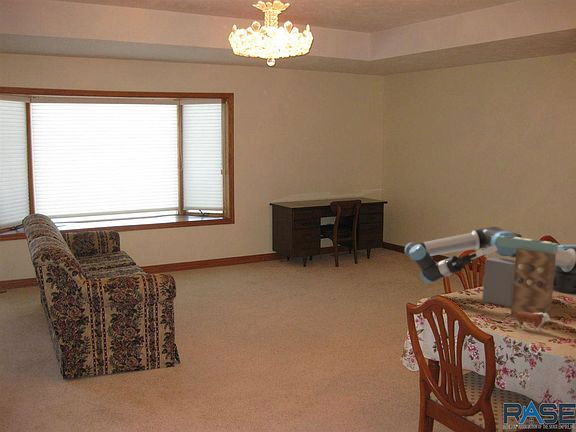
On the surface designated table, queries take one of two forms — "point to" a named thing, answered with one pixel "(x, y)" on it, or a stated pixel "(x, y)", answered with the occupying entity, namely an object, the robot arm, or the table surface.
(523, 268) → the walnut stand
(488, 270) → the grey plinth
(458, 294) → the table surface
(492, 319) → the table surface
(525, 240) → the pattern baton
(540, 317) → the bull figurine
